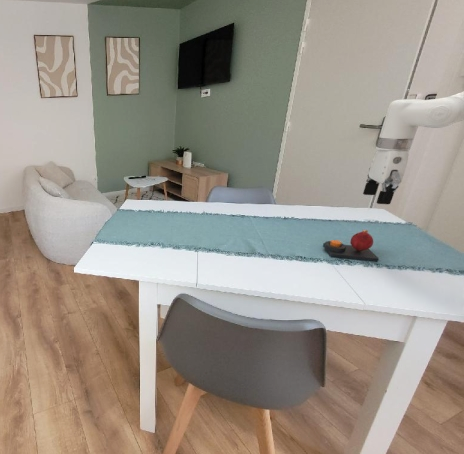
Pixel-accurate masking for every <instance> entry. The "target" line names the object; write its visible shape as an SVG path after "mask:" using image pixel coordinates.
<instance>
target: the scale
mask: <svg viewBox="0 0 464 454" xmlns="http://www.w3.org/2000/svg"><path fill="white" fill-rule="evenodd" d="M330 242H331V240H326V241H325V242H322V243H323V244H322V247H323V248H324V250H325V251H326V253H327V255H328V256H329V258H334V259H343V260H351V261H361V262H370V263H371V262H372V263H379V257H378V256H377V255H376V254H375V253H374V252H373V251H372V250H371V249H370V248H369V249H367V250H363V251H357V250H356V249H354V248H353V246H352V245H351V244H344V243H343V242H341V247H334V246H331V245H330Z"/></svg>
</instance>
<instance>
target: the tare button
mask: <svg viewBox="0 0 464 454" xmlns="http://www.w3.org/2000/svg"><path fill="white" fill-rule="evenodd" d="M330 241H331V242H330V245H331V246H334V247H341V243H342V241H341V240H336V239H332V240H330Z"/></svg>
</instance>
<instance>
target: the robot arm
mask: <svg viewBox="0 0 464 454" xmlns="http://www.w3.org/2000/svg"><path fill="white" fill-rule="evenodd" d="M383 120H384V121H383V124H382V127H381V130H380V134H379V137H378V140H377V143H376V146H375V149H376V151H375V153H374V156H373V159H372V161H371V164H370V167H369V168H368V173H367V179H366V181H365V182H366V183H365V185H364V189H363V192H362V194H363V195H364V196H376V194H377V191H378V189H379V185H380V184H381V190H380V191H379V193H378V197H377V198H376V204H378V205H391V203H392V200H393V197H394V194H395V193H396V192H397V189H398V188H399V186H400V184H401V183H402V181H403V178H404V175H405V173H406V168H407V165H408V160H409V155H410V154H409V153H410V150H411V147H412V146H413V142H414V140H415V136H416V135H417V131H418V128H419V127H421V128H422V127H423V128H431V129H441V128H446V127H449V126H451V125H453V124H456V123H459V122H462V121H464V91H461V92H458V93H455V94H452V95H450V96H445V97H439V98H432V99H423V98H405V99H396V100H393V101H391V102H390V103H389V105H388V107H387V111H386V114H385V117H384V119H383Z"/></svg>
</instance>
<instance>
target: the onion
mask: <svg viewBox="0 0 464 454" xmlns="http://www.w3.org/2000/svg"><path fill="white" fill-rule="evenodd" d="M350 245H352V246H353V248H354V249H356V250H357V251H363V250H367V249H370V248H372V247H373V245H374V237H373V236H372V235H371V234H370V233H369V230H367V229H363V230H362V231H360V232H357V233H355V234H353V235H352V236H351V238H350Z"/></svg>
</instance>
